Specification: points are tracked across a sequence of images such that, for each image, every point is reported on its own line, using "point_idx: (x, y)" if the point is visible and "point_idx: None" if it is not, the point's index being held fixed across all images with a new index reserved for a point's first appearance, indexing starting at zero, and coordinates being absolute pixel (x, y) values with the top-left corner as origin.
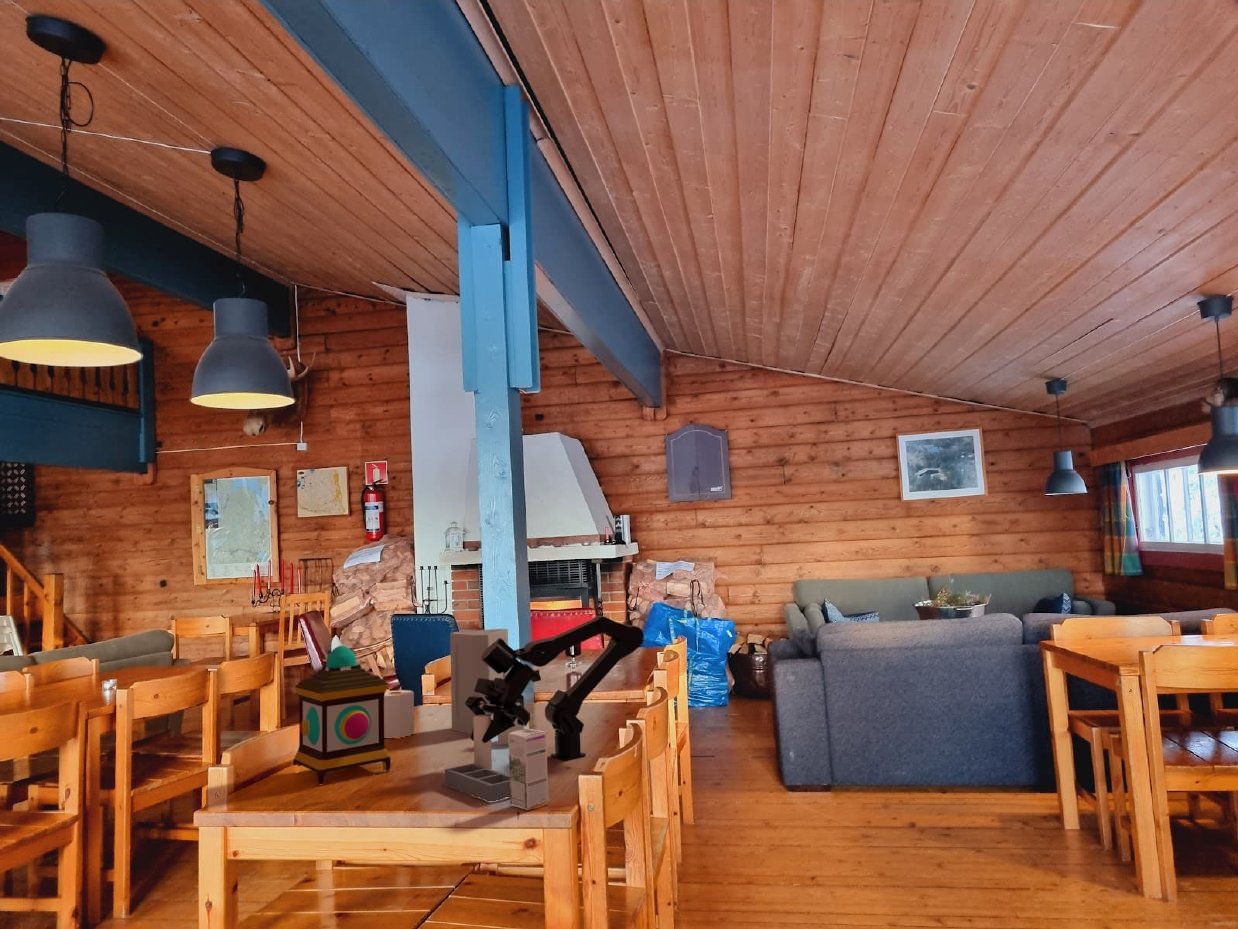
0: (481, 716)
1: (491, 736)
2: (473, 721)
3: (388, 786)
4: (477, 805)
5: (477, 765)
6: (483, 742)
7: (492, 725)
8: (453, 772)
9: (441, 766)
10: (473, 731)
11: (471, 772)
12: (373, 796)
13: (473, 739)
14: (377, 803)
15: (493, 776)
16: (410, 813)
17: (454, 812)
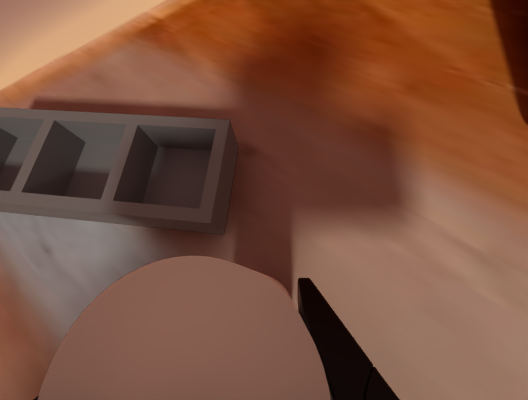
0: (161, 380)
1: None
2: (258, 273)
3: (359, 66)
4: None
5: (169, 214)
6: None
7: None
8: (172, 117)
9: (484, 277)
10: (314, 310)
11: (118, 148)
12: (303, 19)
13: (298, 296)
14: (247, 7)
15: (22, 165)
16: (135, 18)
17: (59, 63)
